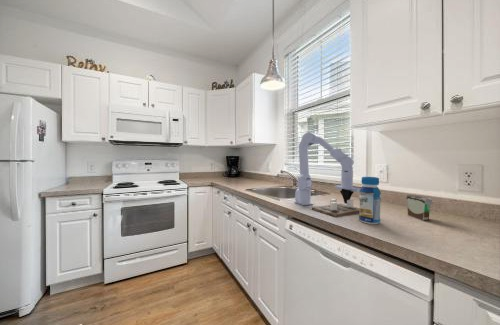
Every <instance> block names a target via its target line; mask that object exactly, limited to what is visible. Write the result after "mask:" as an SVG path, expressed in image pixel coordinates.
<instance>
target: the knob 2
mask: <svg viewBox="0 0 500 325" xmlns="http://www.w3.org/2000/svg"><path fill="white" fill-rule="evenodd" d="M329 202H330V201H329ZM337 204H338V202H330V203H329V205H330V209H331V210H337Z"/></svg>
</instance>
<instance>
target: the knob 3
mask: <svg viewBox="0 0 500 325" xmlns="http://www.w3.org/2000/svg"><path fill="white" fill-rule="evenodd" d="M354 203H355V202H354V200H353V199H350V200H347V204H346V205H347V207H354Z"/></svg>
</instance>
